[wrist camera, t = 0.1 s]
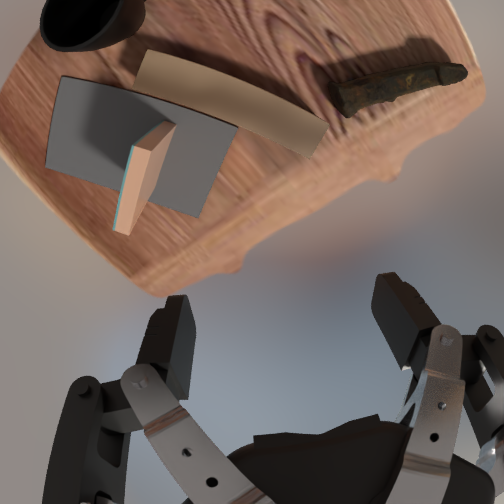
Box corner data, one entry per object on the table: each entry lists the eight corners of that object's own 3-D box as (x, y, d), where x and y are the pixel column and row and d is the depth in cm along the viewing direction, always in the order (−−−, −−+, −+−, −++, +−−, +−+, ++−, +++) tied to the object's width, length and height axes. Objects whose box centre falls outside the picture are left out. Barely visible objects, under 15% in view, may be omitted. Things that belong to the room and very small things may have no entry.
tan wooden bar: (161, 51, 22) (147, 49, 18) (315, 115, 27) (329, 124, 23) (147, 85, 24) (131, 89, 20) (298, 145, 30) (309, 159, 26)
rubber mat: (63, 76, 21) (61, 76, 21) (238, 127, 28) (238, 128, 27) (46, 166, 27) (45, 167, 27) (198, 216, 34) (198, 218, 34)
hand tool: (334, 114, 27) (350, 123, 24) (322, 82, 25) (337, 85, 21) (455, 85, 24) (478, 92, 20) (449, 57, 21) (473, 61, 18)
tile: (163, 120, 26) (132, 145, 18) (176, 124, 27) (151, 151, 19) (142, 183, 30) (112, 230, 22) (154, 187, 31) (128, 235, 23)
